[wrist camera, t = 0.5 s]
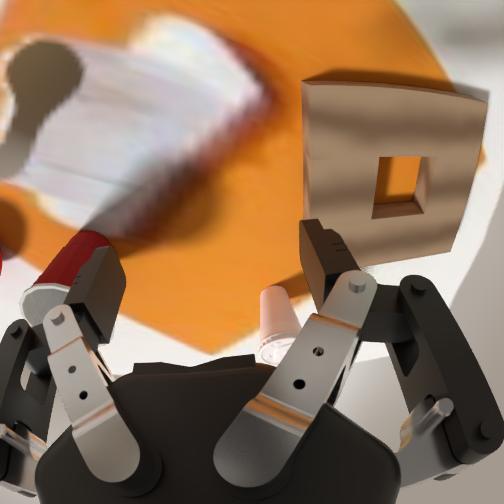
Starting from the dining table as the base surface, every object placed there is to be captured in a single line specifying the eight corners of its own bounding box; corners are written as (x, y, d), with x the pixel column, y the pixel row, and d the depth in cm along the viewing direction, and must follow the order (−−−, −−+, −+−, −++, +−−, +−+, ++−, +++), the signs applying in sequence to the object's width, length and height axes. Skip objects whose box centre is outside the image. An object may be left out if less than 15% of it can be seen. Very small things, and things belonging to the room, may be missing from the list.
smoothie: (304, 284, 42) (329, 372, 31) (282, 312, 45) (299, 396, 35) (263, 273, 40) (280, 368, 29) (243, 304, 43) (253, 393, 33)
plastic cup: (118, 290, 39) (100, 364, 30) (51, 259, 35) (18, 329, 26) (146, 236, 34) (126, 317, 25) (67, 198, 30) (21, 269, 20)
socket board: (301, 80, 25) (309, 85, 22) (471, 96, 25) (487, 103, 23) (302, 259, 39) (307, 275, 37) (440, 239, 39) (450, 251, 37)
